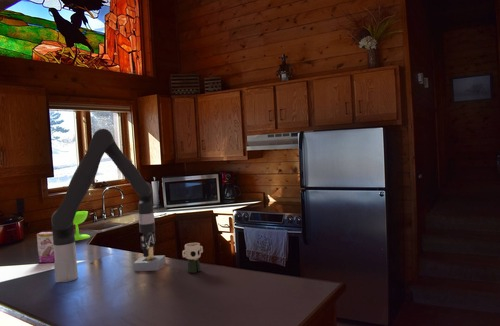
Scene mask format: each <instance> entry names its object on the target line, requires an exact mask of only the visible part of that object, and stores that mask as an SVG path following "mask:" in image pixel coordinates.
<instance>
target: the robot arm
mask: <svg viewBox="0 0 500 326" xmlns="http://www.w3.org/2000/svg"><path fill="white" fill-rule="evenodd" d="M104 154H106V155H107V156H108V157H109V159H111V161H112V162H113V163H114V164H115V166H116V167H117V169H118V170H119V171H120V173H121V174H122V176H124V178H125V179H126V181H127V182H129V184H130V186H131V188H132V189H133V191H134V192H135V194H137V195H138V200H139V202H138V205H137V207H138V227H139V233H142V236H140V240H139V241H140V243H139V244H140V249H141V250H143V251H142V252H143V253H142V254H143V256H144V257H148V247H149V246H152V247H153V253H154V252H155V243H156V241H157V240H156V224H155V214H154V203H153V199H154V197H153V194H154V192H153V191H154V190H153V185H152V184H151V183H150V182H148V181H146V180H145V179H144V178H143V177H142V174H141V173H140V171H139V169H138V168H137V166H135V164H134V163H133V162H132V161H131V160H130V159H129V158H128V157H127V156H126V154H125V153H123V152H122V150H121V149H120V148H119V146H118V144H117V143H116V141H115V139H114V136H113V134H112V133H111V131H109V129H107V128H99V129H97V130H96V131H95V132H93V135H92V137H91V141H90V142H89V145H88V147H87V150H86V153H85V154H84V156H83V157H82V159H81V160H80V163H79V164H78V166H77V168H76V169H75V172H74V173H73V175H72V177H71V179H70V182H69V184H68V186H67V190H66V193H65V195H64V198H63V200H62V201H61V203H60V205H59V207H58V209H56V210H55V211H54V212H53V213H52V215H51V219H50V220H51V232H52V233H53V244H54V256H55V262H53V267H54V277H55V278H54V279H55V283H69V282H72V281H75V280H77V279H78V278H79V272H78V264H77V263H78V261H77V260H78V259H77V248H76V241H75V229H74V224H73V220H74V218H75V215H76V212H78V210H79V207H80V205H81V204H82V201H83V200H84V198H85V197H86V195H87V193H88V191H89V190H90V188H91V187H92V184H93V182H94V181H95V179H96V176H97V173H98V170H99V167H100V163H101V161H102V158H103V156H104Z"/></svg>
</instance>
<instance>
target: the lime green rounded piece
mask: <svg viewBox="0 0 500 326" xmlns="http://www.w3.org/2000/svg"><path fill="white" fill-rule="evenodd" d="M88 213H89V211H87V210H86V211H85V210H82V211H77V212H76V215H75V218H74V220H73V226H74V225H75V233H74V235H75V242H76V241H83V240H86V239H89V238H91V235H89V234H80V230H79V225H80V224H82V223H83V222H85V221H86V220H87V217H88V215H89V214H88Z"/></svg>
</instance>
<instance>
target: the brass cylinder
mask: <svg viewBox="0 0 500 326" xmlns="http://www.w3.org/2000/svg"><path fill="white" fill-rule="evenodd" d="M153 256H154V252H153V247H152V246H149V245H148V257H145V261H153V260H154V257H153Z"/></svg>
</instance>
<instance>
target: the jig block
mask: <svg viewBox="0 0 500 326" xmlns="http://www.w3.org/2000/svg"><path fill="white" fill-rule="evenodd" d="M153 257H154V260H153V261H145V257H144V256H141V257H140V258H138V259H137V260H136V261H134V262H133V272H149V271H150V272H151V271H153V272H154V271H159V270H160V269H161V268H162V267H163V266H165V264H166V263H167V262H166V255H153Z"/></svg>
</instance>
